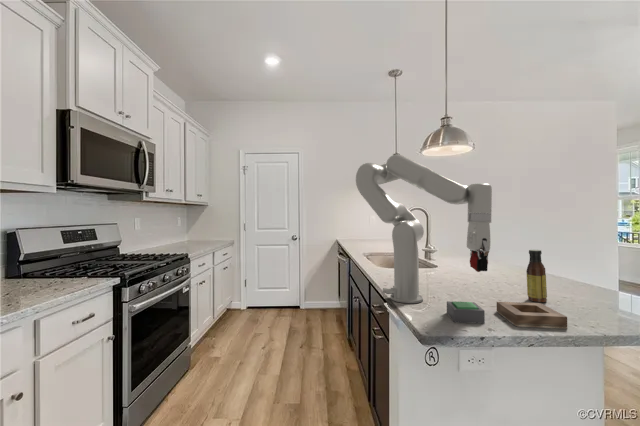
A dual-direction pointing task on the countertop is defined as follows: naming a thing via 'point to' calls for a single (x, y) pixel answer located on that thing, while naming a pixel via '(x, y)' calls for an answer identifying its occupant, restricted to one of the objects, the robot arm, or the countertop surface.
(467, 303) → the button
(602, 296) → the countertop surface
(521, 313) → the open box
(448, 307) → the button housing
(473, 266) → the onion
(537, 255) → the sauce bottle
